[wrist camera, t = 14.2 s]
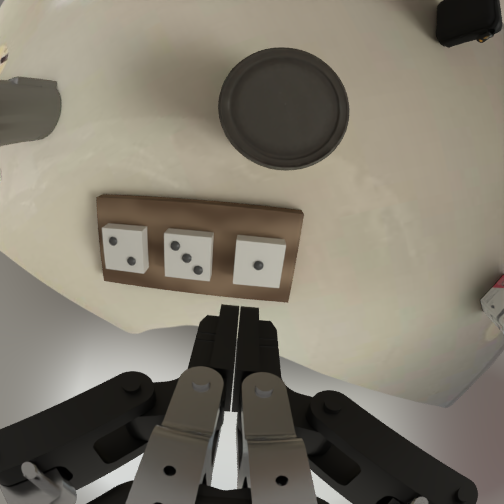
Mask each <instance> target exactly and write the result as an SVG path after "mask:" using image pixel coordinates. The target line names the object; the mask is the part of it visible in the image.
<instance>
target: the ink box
mask: <svg viewBox="0 0 504 504" xmlns="http://www.w3.org/2000/svg"><path fill="white" fill-rule="evenodd" d="M480 301H481V305H482V308H483V312H484V313H485V314H486V315H487V316H488V317H489V318H490V319H491V320H492V321H493V323H494V324H495V325H496V326H497V327H498V328H499V329H500V330H501V331H502V332H503V334H504V275H503V276H502V277H501V278H500V279H499V280H498V282H497V283H496V284H495V285H494V286H493V287H492V288H491V289H490V290H489V291H488V292H487V294H486V295H485V296H484V297H483V298H482V299H481V300H480Z"/></svg>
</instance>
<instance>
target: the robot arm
mask: <svg viewBox="0 0 504 504" xmlns="http://www.w3.org/2000/svg"><path fill="white" fill-rule="evenodd" d="M60 111H61V98H60V94H59V92H58V90H57V81H50V80H43V79H35V78H27V77H14V78H12V79H9V80H0V146H3V145H9V144H15V143H21V142H27V141H34V140H40V139H43V138H45V137H46V136H48V135H49V134H50V133H51V132H52V130H53V129H54V128H55V126H56V124H57V122H58V119H59V116H60ZM238 315H239V306H233V305H223V304H222V305H221V309H220V315H219V316H211V315H207V316H206V317H205V318H204V319H203V320H202V321H201V322H200V324H199V328H198V332H197V335H196V340H195V343H194V347H193V351H192V355H191V358H190V362H189V366H188V369H187V370H186V371H184V372H183V373H182V374H181V376H180V377H179V378H178V379H175V380H172V381H167V382H155V383H153V382H152V380H151V379H150V378H149V377H148V376H147V375H145V374H143V373H141V372H135V371H130V372H125V373H122V374H120V375H118V376H116V377H114V378H112V379H110V380H108V381H106V382H104V383H102V384H100V385H98V386H96V387H94V388H91V389H89V390H87V391H85V392H83V393H81V394H79V395H77V396H75V397H73V398H71V399H69V400H67V401H64V402H62V403H60V404H58V405H56V406H53V407H51V408H49V409H47V410H45V411H42V412H40V413H38V414H35V415H33V416H31V417H29V418H26V419H24V420H22V421H20V422H17V423H15V424H12V425H10V426H7V427H5V428H2V429H0V489H1V491H2V493H3V495H4V497H5V499H6V501H7V504H75V503H76V498H77V494H76V490H78V489H79V488H82V487H84V486H86V485H88V484H90V483H91V482H93V481H95V480H97V479H99V478H101V477H103V476H105V475H106V474H108V473H110V472H112V471H114V470H115V469H117V468H119V467H121V466H122V465H124V464H126V463H127V462H129V461H131V460H133V459H134V458H136V457H137V456H139V455H141V454H142V453H144V454H143V457H142V460H141V462H140V465H139V468H138V471H137V473H136V476H135V479H134V480H133V481H129V482H126V483H123V484H120V485H118V486H116V487H114V488H113V489H111V490H109V491H108V492H106V493H104V494H102V495H101V496H99V497H97V498H96V499H94V500H92V501H90V502H89V503H87V504H329V503H328V502H326V501H325V500H322V499H320V498H318V497H316V495H315V490H314V485H313V480H312V476H311V471H310V469H311V470H312V471H313V472H314V473H315V474H316V475H318V476H319V477H320V478H321V479H322V480H323V481H325V482H326V483H327V484H328V485H330V486H331V487H332V488H333V489H334V490H336V491H337V492H338V493H339V494H341V495H342V496H343V497H345V498H346V499H347V500H349V501H350V502H351V503H353V504H476V502H477V498H478V491H477V488H476V485H475V484H474V483H473V482H472V481H471V480H470V479H468V478H466V477H465V476H463V475H461V474H459V473H458V472H456V471H455V470H453V469H451V468H450V467H448V466H446V465H445V464H443V463H442V462H440V461H439V460H437V459H435V458H434V457H432V456H431V455H429V454H428V453H426V452H425V451H423V450H422V449H420V448H419V447H417V446H415V445H414V444H413V443H411V442H410V441H408V440H407V439H405V438H404V437H402V436H401V435H399V434H398V433H397V432H395V431H394V430H392V429H391V428H389V427H388V426H386V425H385V424H384V423H382V422H381V421H379V420H378V419H377V418H375V417H374V416H372V415H371V414H370V413H368V412H367V411H366V410H364V409H363V408H361V407H360V406H359V405H357V404H356V403H355V402H353V401H352V400H351V399H349V398H348V397H347V396H345V395H344V394H342V393H340V392H337V391H331V390H327V391H322V392H319V393H317V394H316V395H315V396H314V397H310V396H306V395H303V394H299V393H296V392H294V391H292V390H291V389H289V388H288V387H287V386H286V385H285V384H284V382H283V380H282V378H281V371H280V360H279V349H278V341H277V339H278V338H277V329H276V328H275V327H274V325H273V324H272V322H271V321H263V320H259V308H255V307H244V306H241V310H240V320H239V330H238V341H237V351H236V364H235V377H234V389H233V403H232V412H238V414H237V426H236V444H237V465H238V466H237V468H238V479H237V480H238V481H237V489H234V490H220V489H217V488H214V487H211V480H212V472H213V467H214V461H215V456H216V451H217V447H218V442H219V437H220V432H221V426H222V424H223V420H224V411H230V405H231V394H232V383H233V373H234V362H235V350H236V338H237V327H238Z"/></svg>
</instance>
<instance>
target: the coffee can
mask: <svg viewBox="0 0 504 504" xmlns="http://www.w3.org/2000/svg"><path fill="white" fill-rule="evenodd" d="M218 109H219V118H220V122H221V125H222V128H223V130H224V133H225V135H226V137H227V138H228V140H229V141H230V142H231V144H232V145H233V146H234V147H235V149H237V150H238V151H239V152H240V153H241V154H242V155H243V156H244V157H246V158H247V159H249V160H251V161H252V162H254V163H256V164H258V165H261V166H264V167H267V168H270V169H275V170H297V169H302V168H306V167H309V166H312V165H314V164H316V163H318V162H320V161H322V160H323V159H325V158H326V157H327V156H329V155H330V154H331V153H332V152H333V151H334V150H335V149H336V147H337V146H338V145H339V143H340V142H341V140H342V139H343V137H344V134H345V132H346V129H347V125H348V121H349V102H348V97H347V93H346V91H345V88H344V86H343V84H342V82H341V80H340V78H339V77H338V76H337V74H336V73H335V72H334V71H333V70H332V69H331V68H330V67H329V66H328V65H327V64H326V63H325V62H323V61H322V60H321V59H319V58H318V57H316V56H314V55H312V54H310V53H308V52H305V51H302V50H298V49H293V48H270V49H265V50H261V51H258V52H256V53H253V54H252V55H250V56H248V57H246V58H245V59H243V60H242V61H241V62H239V63H238V64H237V65H236V66H235V67H234V68H233V69H232V70H231V72H230V73H229V74H228V76H227V77H226V79H225V81H224V83H223V85H222V88H221V92H220V96H219V105H218Z"/></svg>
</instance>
